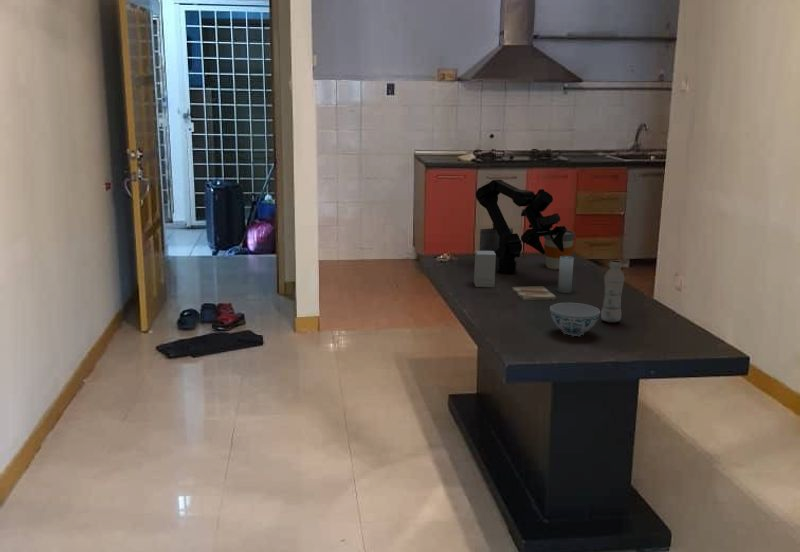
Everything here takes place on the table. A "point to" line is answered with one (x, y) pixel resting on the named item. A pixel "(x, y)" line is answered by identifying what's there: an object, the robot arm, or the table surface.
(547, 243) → the reusable coffee cup
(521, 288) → the beige flat rectangular panel
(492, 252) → the supplement box
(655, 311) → the table surface
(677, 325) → the table surface
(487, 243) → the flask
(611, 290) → the plastic bottle
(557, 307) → the chinaware
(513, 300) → the table surface
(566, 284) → the grey flared tumbler
